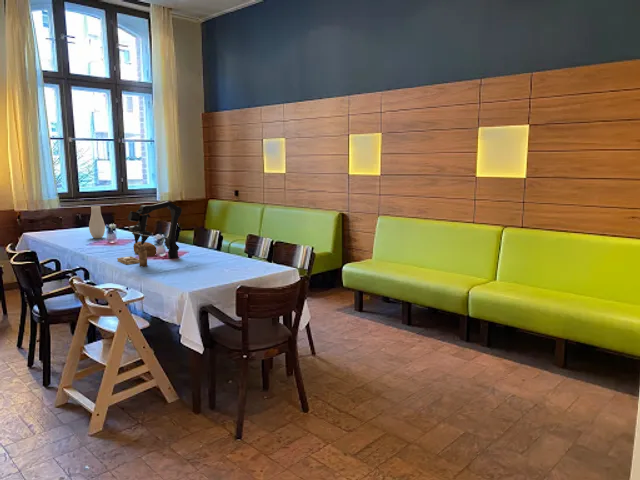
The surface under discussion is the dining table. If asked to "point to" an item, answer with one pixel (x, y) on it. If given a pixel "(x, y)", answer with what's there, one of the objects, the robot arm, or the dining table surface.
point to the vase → (96, 223)
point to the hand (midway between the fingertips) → (139, 243)
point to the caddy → (128, 260)
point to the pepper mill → (142, 257)
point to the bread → (148, 246)
